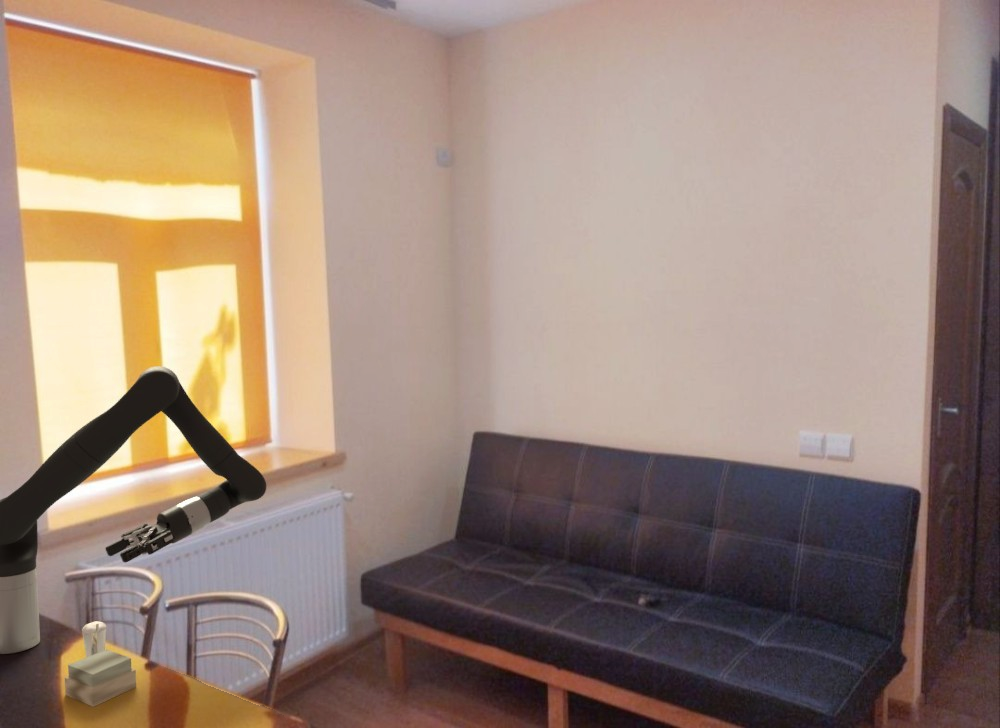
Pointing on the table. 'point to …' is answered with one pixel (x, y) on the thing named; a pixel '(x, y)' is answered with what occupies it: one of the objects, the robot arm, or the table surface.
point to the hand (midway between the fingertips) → (114, 555)
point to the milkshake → (94, 637)
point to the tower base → (100, 689)
